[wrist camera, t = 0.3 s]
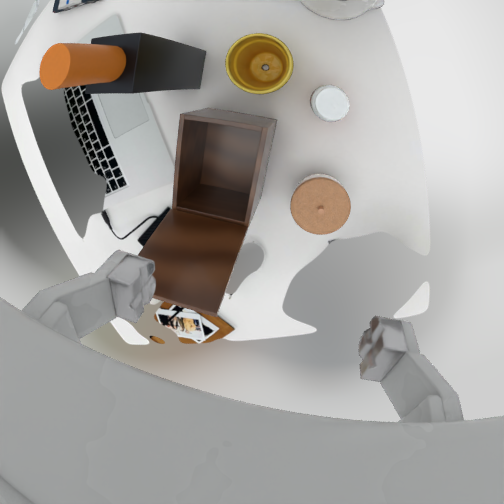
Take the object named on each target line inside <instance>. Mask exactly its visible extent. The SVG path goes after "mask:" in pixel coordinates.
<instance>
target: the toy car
mask: <svg viewBox="0 0 504 504" xmlns="http://www.w3.org/2000/svg"><path fill="white" fill-rule="evenodd" d="M96 1H98V0H55V3H54V7H53V12H54V13H57V12H61V11H64V10H70V9H71V8H73V7H76V6H79V5H83V4H86V3H94V2H96Z"/></svg>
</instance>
